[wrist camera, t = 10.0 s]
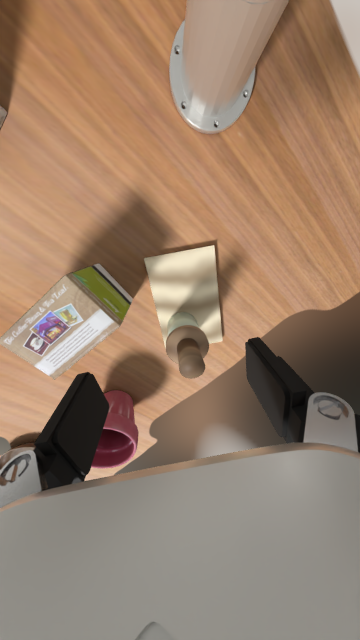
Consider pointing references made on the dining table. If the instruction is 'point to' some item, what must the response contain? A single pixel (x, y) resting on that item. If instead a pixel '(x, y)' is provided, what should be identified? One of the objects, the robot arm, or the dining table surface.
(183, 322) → the jar
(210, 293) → the board
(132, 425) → the plant pot
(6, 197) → the dining table surface
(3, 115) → the coffee box
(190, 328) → the lid
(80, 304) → the tea box
